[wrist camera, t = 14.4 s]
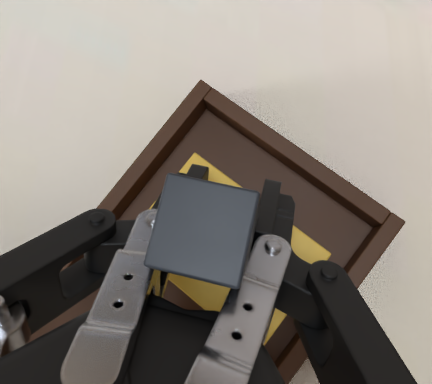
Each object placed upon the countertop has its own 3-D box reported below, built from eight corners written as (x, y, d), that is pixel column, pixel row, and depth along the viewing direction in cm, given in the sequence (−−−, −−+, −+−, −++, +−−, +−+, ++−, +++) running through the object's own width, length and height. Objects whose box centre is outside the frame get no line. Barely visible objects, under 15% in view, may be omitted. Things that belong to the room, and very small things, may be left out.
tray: (-27, 384, 21) (-57, 397, 19) (205, 95, 23) (200, 78, 21) (146, 562, 19) (133, 598, 17) (391, 225, 21) (406, 221, 18)
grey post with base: (138, 244, 21) (25, 218, 11) (201, 165, 22) (153, 67, 11) (257, 343, 19) (261, 426, 9) (322, 256, 20) (395, 239, 10)
